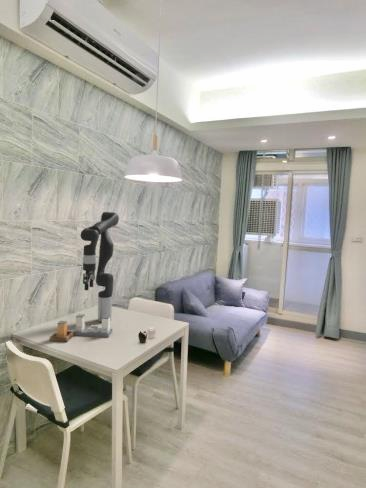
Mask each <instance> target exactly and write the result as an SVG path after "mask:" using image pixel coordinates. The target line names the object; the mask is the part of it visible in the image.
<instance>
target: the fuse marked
mask: <svg viewBox="0 0 366 488" xmlns="http://www.w3.org/2000/svg"><path fill="white" fill-rule="evenodd" d="M57 331H58V337H66V336H67V331H68V320H59V321H58V322H57Z"/></svg>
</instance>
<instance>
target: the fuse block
mask: <svg viewBox="0 0 366 488" xmlns="http://www.w3.org/2000/svg"><path fill="white" fill-rule="evenodd" d="M85 315H86V314H80V313H79V314H77V315H76V316H75V327H74V330H73V331H74V336H79V337H80V336H84V337H98V338H109V337H110V336H111V335H112V334H113V328H111V321H110V316H103V317H102V322H101V327H99V325H96V324H95V325H94V324H91V325H90V327H89V326H87V327H86V325H87V324H86V323H85V322H86V320H85V319H86V316H85Z"/></svg>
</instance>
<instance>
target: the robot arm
mask: <svg viewBox="0 0 366 488" xmlns="http://www.w3.org/2000/svg"><path fill="white" fill-rule="evenodd" d="M119 220H120V219H119V214H118V213H116V212H113V211H110V212H109V211H103V212H102V214H101V217H100V221H98V222H96V223H94V224H92V226H88V227H85V228H84V229H82V231H81V232H80V238H81V240H83V241H85V242H90V243H89V244H85V245H84V246H83V257H82V270H83V271H85V273H83V274H82V284H83V285H84V291H89V288H93V287H94V280H95V283H96V286H98V287H102V288H103V287H104V290H100V291H99V292H98V293H97V322H99V323H102V317H103V316H110V322H111V321H112V310H113V308H112V305H113V304H112V303H113V291H114V290H113V289H114V276H113V274H112V273H106V272H105V271H106V270H105V269H106V266H107V264H108V263H109V261H110V260H111V258H112V256H113V254H114V242H113V240H112V239H111V236H110V234H109V232H108V231H109V229H110V228H113V227H115V226H117V225H118V223H119ZM99 238H100V241H99ZM98 242H99V249H98V250H99V251H98V254H99V255H98V263H97V257H96V255H97V254H96V249H97V246H98V245H97V244H98ZM97 264H98V265H97ZM96 265H97V267H96ZM96 268H97V269H96ZM95 274H96V275H95Z"/></svg>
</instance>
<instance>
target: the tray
mask: <svg viewBox="0 0 366 488" xmlns="http://www.w3.org/2000/svg"><path fill="white" fill-rule="evenodd" d="M73 337H75V335H74V330H73V331H68V330H67V336H66V337H58V330H57V331H55V332H54V333H53V334H52V335H51V336H49V341H50V342H62V343H68V342H69V341H70V340H71V339H72V338H73Z"/></svg>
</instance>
